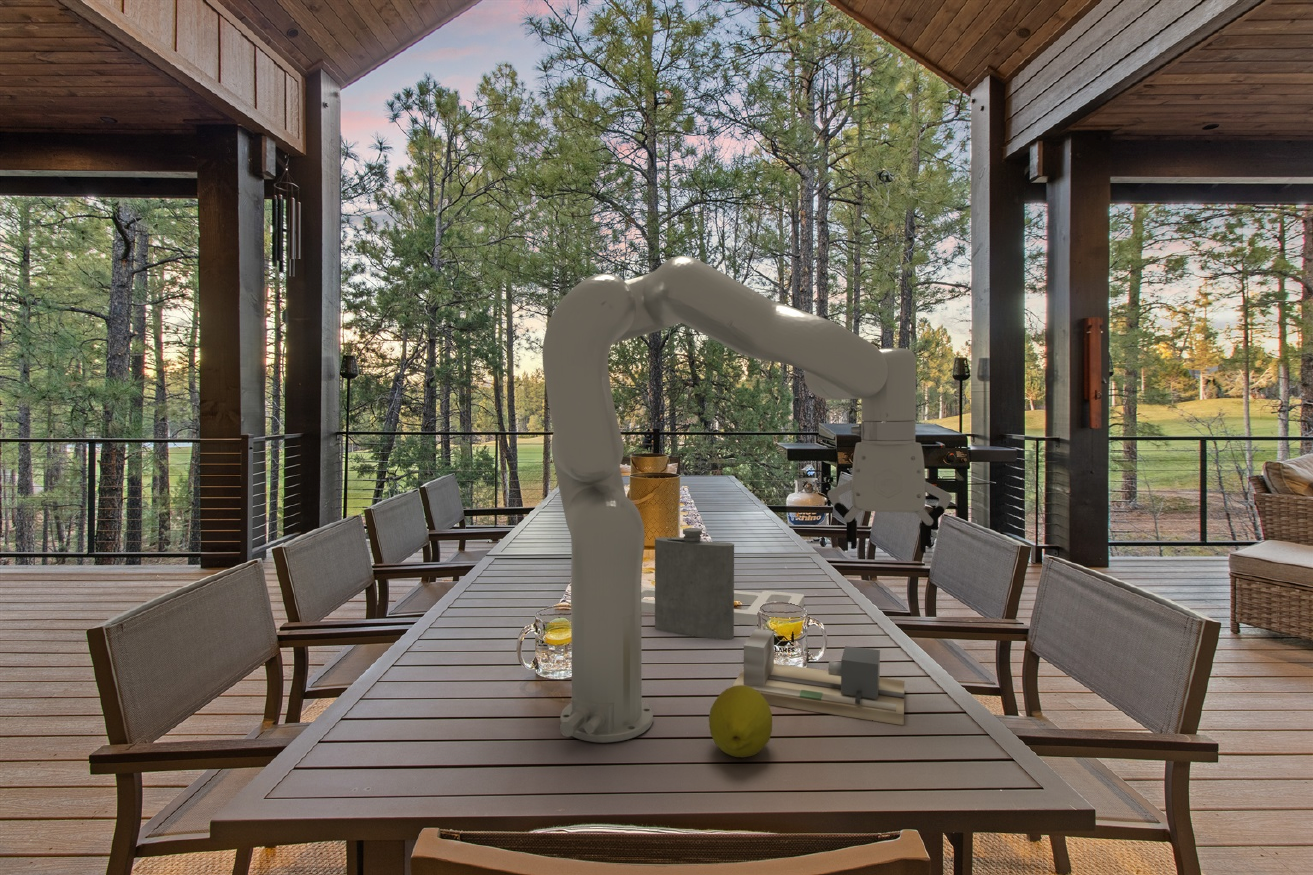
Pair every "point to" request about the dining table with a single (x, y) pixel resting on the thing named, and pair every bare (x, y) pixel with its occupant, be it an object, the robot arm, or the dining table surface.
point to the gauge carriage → (858, 672)
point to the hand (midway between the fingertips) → (887, 548)
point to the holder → (744, 597)
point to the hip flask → (694, 586)
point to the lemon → (740, 721)
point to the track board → (813, 686)
